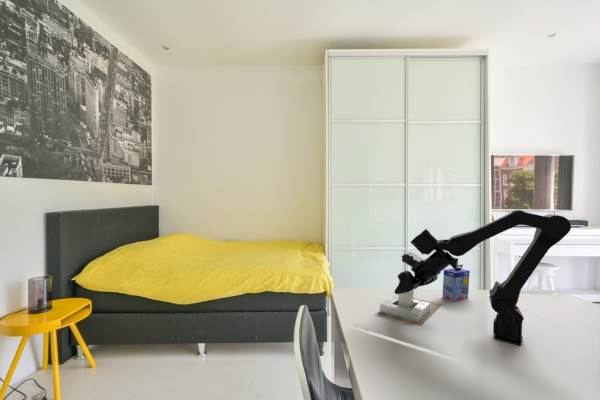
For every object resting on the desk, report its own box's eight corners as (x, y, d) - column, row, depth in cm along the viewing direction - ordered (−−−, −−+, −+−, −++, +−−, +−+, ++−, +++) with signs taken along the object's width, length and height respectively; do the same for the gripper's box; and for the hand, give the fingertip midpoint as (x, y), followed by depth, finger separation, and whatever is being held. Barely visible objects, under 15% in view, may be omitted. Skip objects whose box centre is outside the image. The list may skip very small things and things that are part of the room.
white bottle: (414, 311, 108) (416, 275, 108) (409, 315, 104) (411, 277, 104) (400, 308, 111) (402, 272, 111) (395, 312, 107) (396, 275, 107)
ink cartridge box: (454, 303, 119) (455, 266, 119) (441, 299, 124) (442, 263, 124) (469, 299, 124) (470, 264, 124) (456, 295, 129) (457, 261, 129)
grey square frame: (429, 311, 109) (430, 303, 109) (417, 323, 99) (418, 313, 99) (394, 302, 117) (394, 295, 117) (379, 312, 107) (380, 304, 107)
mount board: (442, 306, 116) (442, 304, 116) (421, 328, 97) (421, 325, 97) (403, 297, 125) (403, 295, 125) (376, 315, 106) (376, 313, 106)
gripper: (429, 242, 111) (400, 267, 119) (403, 248, 98) (373, 275, 106) (451, 268, 105) (419, 292, 114) (427, 277, 93) (393, 304, 101)
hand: (401, 290), depth 109 cm, fingers open, 9 cm apart
